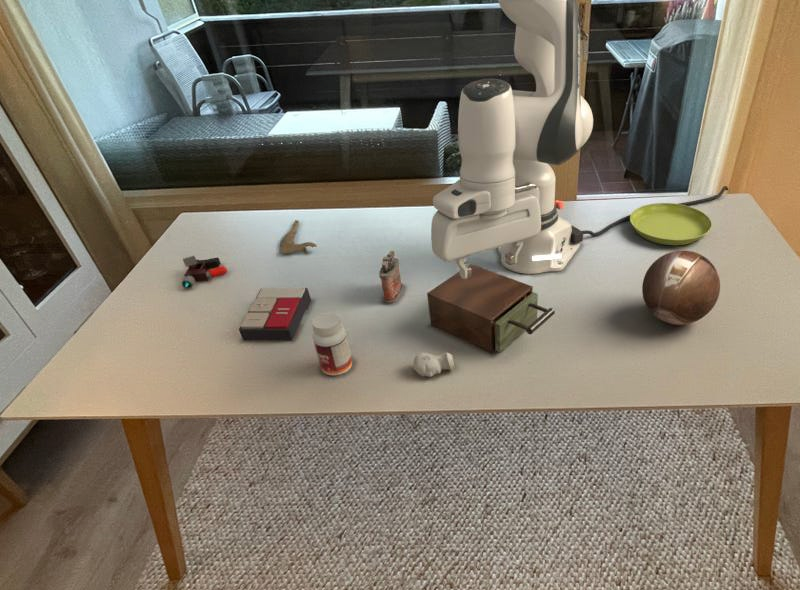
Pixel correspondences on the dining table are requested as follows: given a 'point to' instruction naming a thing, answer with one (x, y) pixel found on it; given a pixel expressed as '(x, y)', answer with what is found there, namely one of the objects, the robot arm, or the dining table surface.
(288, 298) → the calculator
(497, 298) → the cabinet
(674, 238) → the saucer
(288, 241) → the jawbone
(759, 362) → the dining table surface
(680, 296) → the wooden sphere
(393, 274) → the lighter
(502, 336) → the drawer
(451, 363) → the white mannequin head
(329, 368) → the pill bottle
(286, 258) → the dining table surface
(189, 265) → the toy gun
